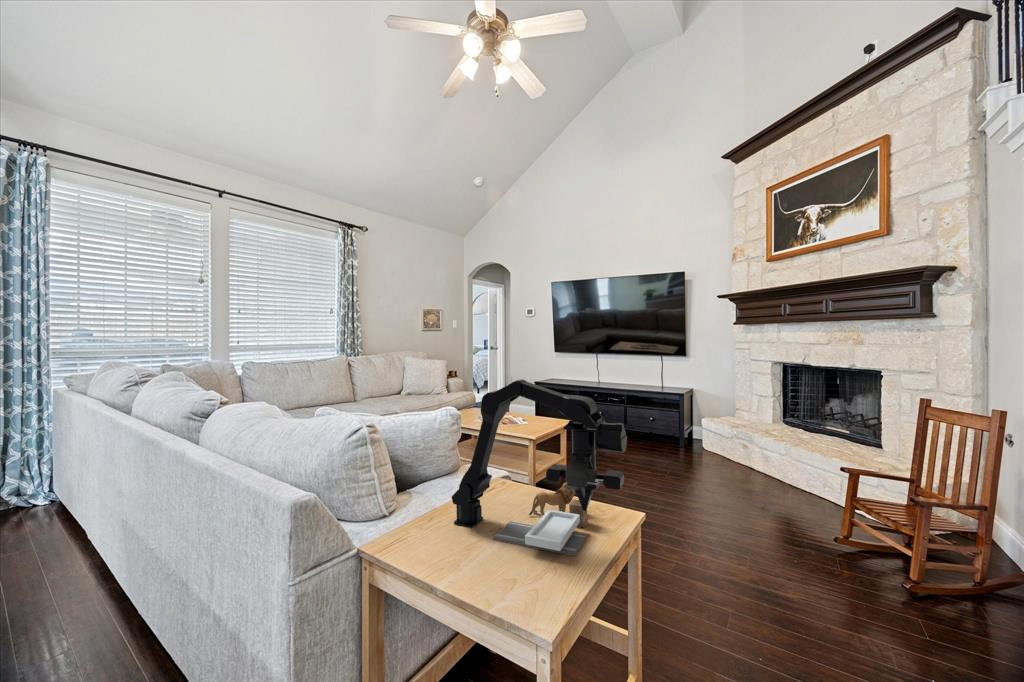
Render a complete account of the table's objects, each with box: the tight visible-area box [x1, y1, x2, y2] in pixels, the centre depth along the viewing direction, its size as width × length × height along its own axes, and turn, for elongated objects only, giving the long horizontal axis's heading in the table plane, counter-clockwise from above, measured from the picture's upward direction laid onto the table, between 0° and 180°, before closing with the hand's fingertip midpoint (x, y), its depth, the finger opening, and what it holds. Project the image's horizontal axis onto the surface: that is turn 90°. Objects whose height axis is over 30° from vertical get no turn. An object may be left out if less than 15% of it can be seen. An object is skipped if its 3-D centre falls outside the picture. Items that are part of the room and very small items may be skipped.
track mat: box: [493, 521, 587, 557], centre depth 108 cm, size 22×10×1 cm, turn 65°
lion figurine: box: [528, 481, 576, 517], centre depth 123 cm, size 15×5×9 cm, turn 103°
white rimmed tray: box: [525, 509, 580, 551], centre depth 106 cm, size 9×17×4 cm, turn 155°
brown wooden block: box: [568, 498, 588, 529], centre depth 116 cm, size 4×4×6 cm
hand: (585, 510), depth 103 cm, fingers closed
